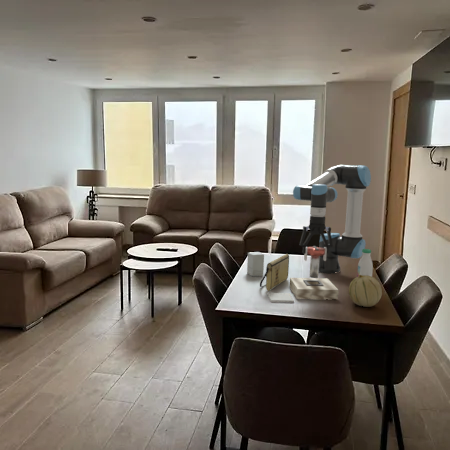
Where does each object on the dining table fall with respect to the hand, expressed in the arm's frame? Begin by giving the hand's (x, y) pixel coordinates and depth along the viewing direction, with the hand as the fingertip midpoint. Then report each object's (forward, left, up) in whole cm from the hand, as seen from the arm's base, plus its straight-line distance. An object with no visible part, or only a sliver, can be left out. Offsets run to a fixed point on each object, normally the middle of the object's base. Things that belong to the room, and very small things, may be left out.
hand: (315, 260), depth 217 cm
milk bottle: (-32, -16, -17) cm, 40 cm away
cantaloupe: (-20, +18, -17) cm, 32 cm away
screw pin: (0, 0, -9) cm, 9 cm away
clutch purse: (+18, -13, -17) cm, 28 cm away
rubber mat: (+18, +10, -17) cm, 27 cm away
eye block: (0, 0, -17) cm, 17 cm away
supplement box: (+26, -33, -17) cm, 45 cm away
